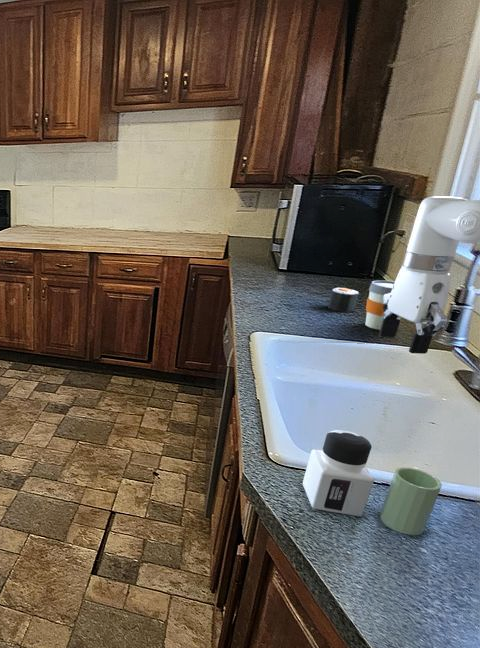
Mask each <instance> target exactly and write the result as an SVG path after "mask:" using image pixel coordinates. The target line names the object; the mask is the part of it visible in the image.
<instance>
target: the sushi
mask: <svg viewBox="0 0 480 648" xmlns="http://www.w3.org/2000/svg"><path fill="white" fill-rule="evenodd" d="M359 294H360V292H359V291H358V290H355V289H350V288H346V287H340V286H339V287H335V288H332V290H331V295H330V298H329V303H328V306H327V308H328V309H330V310H333V311H335V312H340V313H351V312H354V310H355V307H356V303H357V299H358V296H359Z"/></svg>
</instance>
